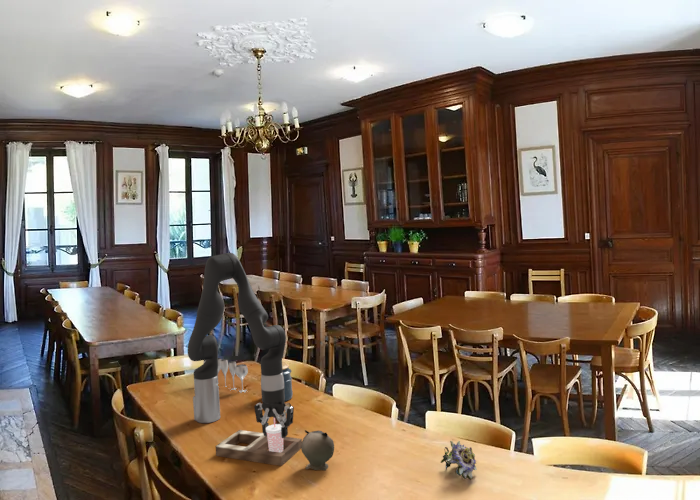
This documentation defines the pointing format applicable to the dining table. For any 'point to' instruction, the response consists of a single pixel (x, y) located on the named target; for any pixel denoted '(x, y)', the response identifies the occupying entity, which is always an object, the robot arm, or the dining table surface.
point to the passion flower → (460, 459)
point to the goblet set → (232, 370)
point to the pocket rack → (257, 448)
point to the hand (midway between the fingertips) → (275, 435)
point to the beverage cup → (274, 437)
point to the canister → (287, 381)
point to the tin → (280, 416)
